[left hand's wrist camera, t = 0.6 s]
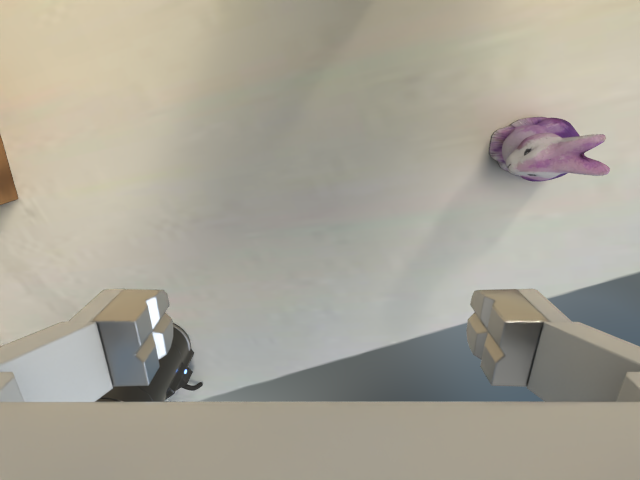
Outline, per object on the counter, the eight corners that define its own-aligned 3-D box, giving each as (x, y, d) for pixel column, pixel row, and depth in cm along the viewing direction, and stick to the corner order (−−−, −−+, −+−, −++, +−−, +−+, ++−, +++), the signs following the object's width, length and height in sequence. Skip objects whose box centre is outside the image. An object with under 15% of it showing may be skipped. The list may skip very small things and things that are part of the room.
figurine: (470, 148, 52) (525, 167, 38) (534, 95, 50) (618, 94, 36) (507, 197, 55) (572, 232, 41) (570, 148, 52) (662, 167, 38)
